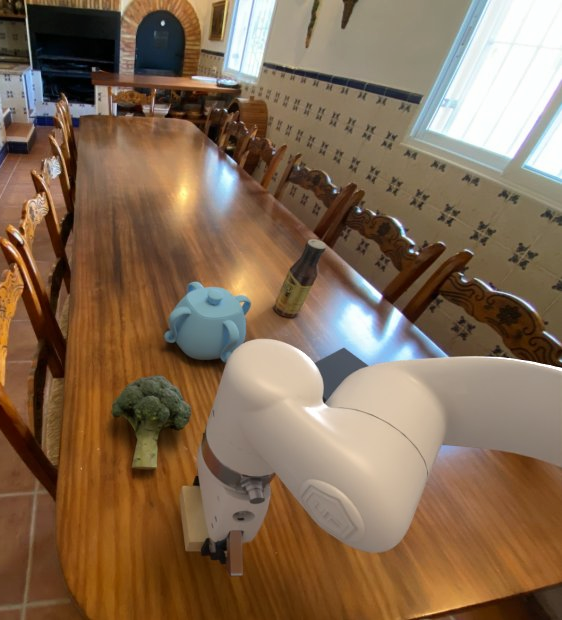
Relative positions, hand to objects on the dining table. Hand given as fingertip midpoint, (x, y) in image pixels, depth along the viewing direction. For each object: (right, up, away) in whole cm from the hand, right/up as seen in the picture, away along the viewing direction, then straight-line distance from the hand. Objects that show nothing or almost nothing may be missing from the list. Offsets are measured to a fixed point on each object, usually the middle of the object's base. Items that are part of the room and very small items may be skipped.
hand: (207, 519), depth 46 cm
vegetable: (-7, +5, +15) cm, 18 cm away
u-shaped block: (+35, +10, +24) cm, 43 cm away
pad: (0, -1, 0) cm, 1 cm away
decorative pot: (+6, +20, +34) cm, 40 cm away
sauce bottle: (+29, +27, +44) cm, 59 cm away
